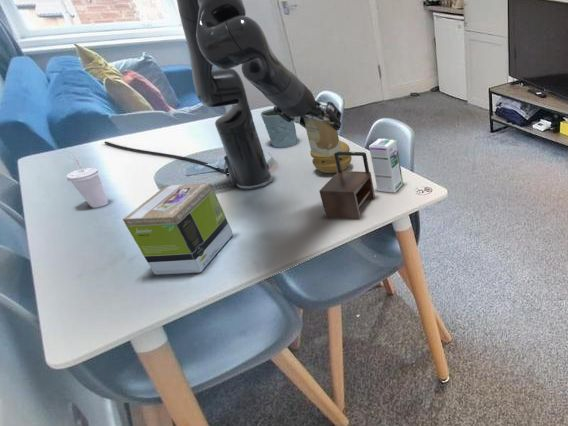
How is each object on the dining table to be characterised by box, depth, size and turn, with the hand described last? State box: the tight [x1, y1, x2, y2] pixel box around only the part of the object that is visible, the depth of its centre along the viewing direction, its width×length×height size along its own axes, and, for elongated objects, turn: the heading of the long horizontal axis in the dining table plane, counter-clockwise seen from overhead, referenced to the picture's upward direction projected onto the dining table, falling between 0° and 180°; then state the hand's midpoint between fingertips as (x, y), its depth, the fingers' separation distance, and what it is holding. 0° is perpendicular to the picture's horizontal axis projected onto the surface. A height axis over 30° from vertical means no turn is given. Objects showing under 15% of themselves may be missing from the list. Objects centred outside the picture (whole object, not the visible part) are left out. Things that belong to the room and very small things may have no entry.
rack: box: [319, 151, 376, 220], centre depth 113 cm, size 9×12×14 cm
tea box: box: [122, 182, 234, 276], centre depth 94 cm, size 15×10×15 cm, turn 5°
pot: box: [309, 139, 353, 174], centre depth 135 cm, size 12×12×10 cm
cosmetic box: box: [304, 101, 341, 156], centre depth 106 cm, size 6×4×12 cm
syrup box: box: [368, 138, 404, 194], centre depth 123 cm, size 6×6×14 cm
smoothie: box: [65, 156, 109, 209], centre depth 114 cm, size 6×6×14 cm
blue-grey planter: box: [260, 107, 299, 149], centre depth 154 cm, size 10×10×12 cm
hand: (323, 126), depth 107 cm, fingers closed on cosmetic box, 7 cm apart
